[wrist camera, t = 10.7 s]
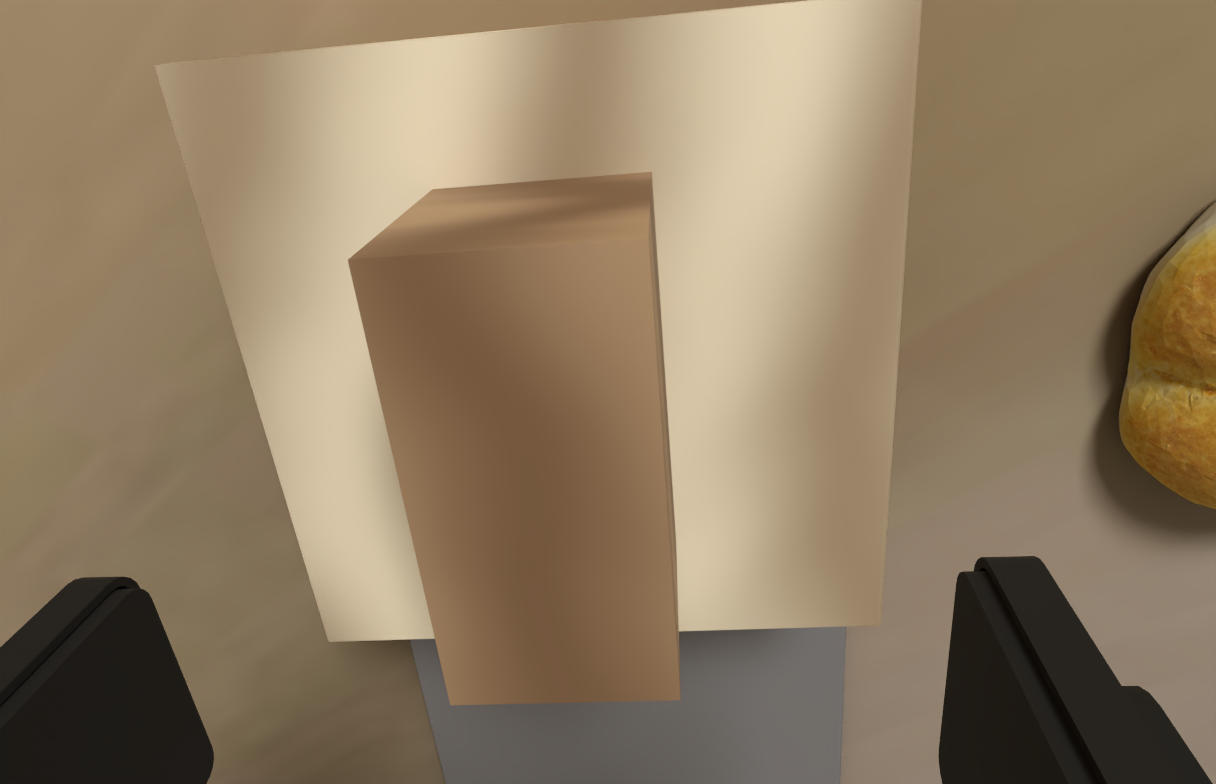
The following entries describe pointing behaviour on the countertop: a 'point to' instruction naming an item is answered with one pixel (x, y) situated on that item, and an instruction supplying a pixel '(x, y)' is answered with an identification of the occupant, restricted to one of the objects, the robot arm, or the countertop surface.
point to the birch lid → (572, 327)
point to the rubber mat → (664, 720)
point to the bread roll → (1176, 368)
